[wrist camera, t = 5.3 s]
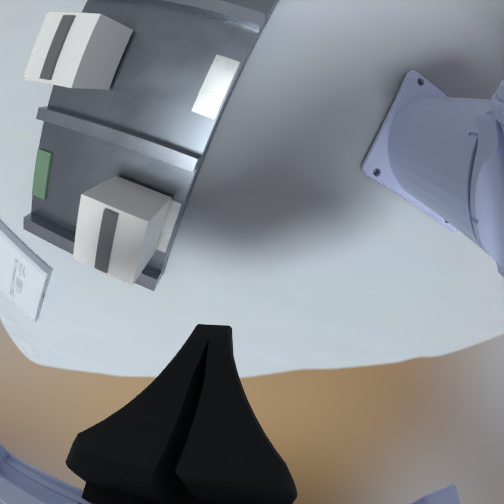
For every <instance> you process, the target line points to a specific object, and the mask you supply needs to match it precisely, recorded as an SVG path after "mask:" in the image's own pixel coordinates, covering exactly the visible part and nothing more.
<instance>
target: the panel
mask: <svg viewBox="0 0 504 504" xmlns="http://www.w3.org/2000/svg"><path fill="white" fill-rule="evenodd" d="M278 1H279V0H88V1H87V3H86V5H85V7H84V9H83V11H82V13H96V14H102V15H104V16H106V17H108V18H111V19H113V20H115V21H117V22H119V23H121V24H123V25H124V26H126V27H128V28H130V29H132V30H133V32H132V34H131V36H130V39H129V41H128V43H127V45H126V48H125V50H124V52H123V55H122V57H121V59H120V62H119V64H118V67H117V69H116V72H115V75H114V77H113V80H112V83H111V86H110V88H109V90H104V89H81V88H68V87H63V86H58V85H54V86H53V89H52V93H51V96H50V100H49V104H48V106H47V107H39V109H38V113H37V118H36V119H39V120H42V121H44V124H43V129H42V134H41V139H40V144H39V149H38V152H37V158H36V165H35V172H34V181H33V190H32V194H33V197H32V211H31V213H30V214H28V215H27V216H25V217H24V229H25V230H27V231H29V232H31V233H33V234H34V235H36V236H38V237H40V238H42V239H44V240H46V241H48V242H50V243H52V244H53V245H55V246H57V247H59V248H61V249H63V250H65V251H67V252H69V253H71V254H73V253H74V243H75V234H76V226H77V218H78V211H79V205H80V199H81V194H82V193H84V192H86V191H87V190H89V189H91V188H93V187H95V186H97V185H98V184H100V183H102V182H104V181H106V180H108V179H110V178H112V177H114V176H118V177H121V178H123V179H126V180H128V181H131V182H134V183H136V184H139V185H141V186H144V187H146V188H149V189H151V190H154V191H157V192H159V193H162V194H164V195H167V196H169V197H172V199H171V202H170V205H169V208H168V211H167V214H166V218H165V221H164V224H163V227H162V230H161V234H160V237H159V240H158V244H157V247H156V251H155V253H154V254H153V256H152V257H151V259H150V260H149V262H148V263H147V265H146V266H145V268H144V269H143V271H142V272H141V274H140V275H139V277H138V278H137V280H136V281H135V283H136V284H139V285H141V286H143V287H146V288H148V289H150V290H153V291H154V290H155V288H156V286H157V284H158V282H159V280H160V279H161V277H162V275H163V272H164V269H165V266H166V263H167V259H168V256H169V253H170V250H171V247H172V244H173V241H174V238H175V235H176V232H177V229H178V226H179V223H180V220H181V217H182V214H183V212H184V209H185V206H186V203H187V200H188V198H189V195H190V192H191V190H192V187H193V184H194V182H195V179H196V176H197V174H198V171H199V168H200V166H201V163H202V161H203V158H204V156H205V153H206V151H207V148H208V146H209V143H210V141H211V139H212V136H213V134H214V131H215V129H216V127H217V124H218V122H219V120H220V117H221V115H222V113H223V111H224V108H225V106H226V104H227V102H228V99H229V97H230V95H231V93H232V91H233V88H234V86H235V84H236V82H237V80H238V78H239V76H240V73H241V71H242V69H243V67H244V65H245V63H246V61H247V59H248V57H249V55H250V53H251V51H252V49H253V47H254V45H255V43H256V41H257V39H258V37H259V36H260V34H261V32H262V30H263V28H264V26H265V24H266V22H267V21H268V19H269V17H270V15H271V13H272V11H273V10H274V8H275V6H276V4H277V3H278Z"/></svg>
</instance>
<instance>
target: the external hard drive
mask: <svg viewBox="0 0 504 504" xmlns="http://www.w3.org/2000/svg"><path fill="white" fill-rule="evenodd" d="M51 273H52V269H51V268H50V267H49V266H48V265H47V264H46V263H45V262H43V261H42V260H41V259H40V258H39V257H38V256H37V255H36V254H34V253H33V252H32V251H31V250H30V249H29V248H28V247H27V246H26V245H25V244H24V243H23V242H22V241H21V240H20V239H19V238H18V237H17V236H16V235H15V234H14V233H12V232H11V230H10V229H9V228H8V227H7V226H6V225H5V224H4V223H3V222H2V221H1V220H0V291H1V292H2V293H3V294H4V295H5V296H6V297H8V298H9V299H10V300H11V301H12V302H13V303H14V304H15V305H16V306H17V307H18V308H19V309H21V310H22V311H23V312H24V313H25V314H26V315H27V316H28V317H30V318H31V319H32V320H33V321H34V322H36V320H37V319H38V318H39V314H40V311H41V307H42V303H43V296H44V293H45V292H46V289H47V286H48V283H49V280H50V276H51Z"/></svg>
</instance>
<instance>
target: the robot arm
mask: <svg viewBox="0 0 504 504" xmlns="http://www.w3.org/2000/svg"><path fill="white" fill-rule="evenodd" d="M418 79H420V81H421V85H419V84H418V82H417V81H418ZM376 168H378V170H379V172H378V174H377V175H374V174H373V171H374V170H375V169H376ZM362 171H363V173H364V174H365V175H367V176H369V177H370V178H372V179H374V180H376V181H377V182H379V183H381V184H382V185H384V186H386V187H387V188H389V189H390V190H392V191H394V192H395V193H397V194H398V195H400V196H402V197H403V198H405V199H406V200H408V201H409V202H411V203H412V204H414V205H415V206H417V207H418V208H420V209H421V210H423V211H424V212H426V213H427V214H429V215H430V216H432V217H433V218H434V219H436V220H437V221H439V222H440V223H441V224H443V225H444V226H446V227H447V228H448V229H450V230H451V231H453V232H454V231H456V230H459V231H460V232H462V233H463V234H464V235H465V236H467V237H468V238H469V239H470V240H472V241H473V242H474V243H475V244H476V245H478V246H479V247H480V248H481V249H482V250H484V251H485V252H486V253H487V254H488V255H489V256H491V257H492V258H493V259H494V260H495V261H496V263H497V267H498V272H499V273H500V274H501V275H502V276H503V277H504V79H503V80H502V81H501V82H500V84H499V86H498V88H497V90H496V92H495V93H493V95H492V97H491V99H478V98H461V97H448V96H447V95H445V94H444V93H443V92H442V91H441V90H440V89H438V88H437V87H436V86H435V85H433V84H432V83H431V82H430V81H428V80H427V79H426V78H425V77H423V76H422V75H421V74H419V73H418V72H417V71H414V70H411V71H408V72H407V73H406V76H405V78H404V80H403V82H402V84H401V87H400V89H399V91H398V93H397V95H396V97H395V100H394V102H393V104H392V106H391V108H390V110H389V112H388V114H387V116H386V118H385V120H384V122H383V124H382V126H381V129H380V131H379V133H378V135H377V137H376V139H375V141H374V143H373V145H372V146H371V148H370V150H369V152H368V154H367V156H366V158H365V160H364V162H363V164H362ZM445 220H446V221H445ZM66 464H67V466H68V468H69V469H71V471H73V472H74V473H75V474H76V475H78V476H79V477H80V478H82V479H83V480H84V481H86V485H85V488H84V490H82V489H79V488H77V487H75V486H72V485H70V484H68V483H66V482H63V481H61V480H59V479H57V478H55V477H53V476H51V475H49V474H47V473H45V472H43V471H41V470H39V469H37V468H35V467H33V466H32V465H30V464H28V463H26V462H25V461H23V460H21V459H20V458H18V457H16V456H15V455H13V454H11V453H10V452H8V450H7V449H6V448H5V447H4V446H2V445H1V444H0V500H1V501H2V502H3V503H4V504H293V502H294V500H295V499H296V498H297V490H296V487H295V483H294V481H293V478H292V476H291V474H290V472H289V470H288V467H287V465H286V463H285V462H284V461H283V459H282V458H281V456H280V455H279V454H278V452H277V451H276V450H275V448H274V447H273V445H272V444H271V442H270V441H269V439H268V437H267V436H266V434H265V433H264V431H263V429H262V427H261V426H260V424H259V422H258V420H257V418H256V417H255V415H254V413H253V410H252V408H251V406H250V404H249V402H248V400H247V397H246V395H245V392H244V390H243V387H242V384H241V381H240V378H239V375H238V372H237V369H236V365H235V361H234V356H233V341H232V328H231V327H230V326H223V325H204V324H198V325H197V326H196V327H195V329H194V330H193V332H192V333H191V335H190V336H189V338H188V339H187V341H186V342H185V344H184V345H183V346H182V348H181V349H180V350H179V352H178V353H177V354H176V356H175V357H174V358H173V359H172V361H171V362H170V363H169V364H168V365H167V366H166V368H165V369H164V370H163V371H162V372H161V373H160V374H159V376H158V377H157V378H156V379H155V380H154V381H153V382H152V383H151V384H150V385H149V386H148V387H147V388H146V389H144V390H143V391H142V392H141V393H140V394H139V395H138V396H136V397H135V398H134V399H133V400H132V401H130V402H129V403H128V404H127V405H126V406H124V407H123V408H121V409H120V410H118V411H117V412H115V413H114V414H112V415H111V416H109V417H108V418H106V419H105V420H103V421H101V422H100V423H98V424H96V425H94V426H92V427H90V428H88V429H87V430H85V431H83V432H80V433H78V435H77V437H76V439H75V440H74V442H73V444H72V447H71V449H70V452H69V455H68V457H67V460H66ZM409 504H460V501H459V497H458V493H457V489H456V486H455V485H454V484H452V485H450V486H448V487H445V488H443V489H440V490H437V491H435V492H432V493H430V494H427V495H425V496H423V497H421V498H419V499H418V500H417V501H416V502H413V503H409Z"/></svg>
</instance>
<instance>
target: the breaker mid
mask: <svg viewBox="0 0 504 504" xmlns="http://www.w3.org/2000/svg"><path fill="white" fill-rule="evenodd" d="M132 32H133V30H132V29H130V28H128V27H126V26H124V25H123V24H121V23H119V22H117V21H115V20H113V19H111V18H108V17H106V16H104V15H102V14H96V13H78V12H48V13H47V15H46V18H45V20H44V22H43V24H42V27H41V29H40V32H39V34H38V37H37V39H36V42H35V45H34V47H33V50H32V53H31V56H30V59H29V62H28V65H27V68H26V72H25V75H24V78H23V79H26V80H32V81H38V82H43V83H48V84H53V85H58V86H63V87H68V88H81V89H104V90H109V88H110V86H111V83H112V80H113V77H114V75H115V72H116V69H117V67H118V64H119V62H120V59H121V57H122V55H123V52H124V50H125V48H126V45H127V43H128V41H129V39H130V36H131V34H132Z"/></svg>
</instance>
